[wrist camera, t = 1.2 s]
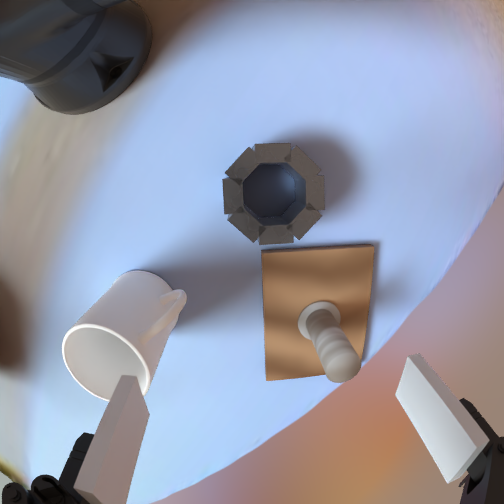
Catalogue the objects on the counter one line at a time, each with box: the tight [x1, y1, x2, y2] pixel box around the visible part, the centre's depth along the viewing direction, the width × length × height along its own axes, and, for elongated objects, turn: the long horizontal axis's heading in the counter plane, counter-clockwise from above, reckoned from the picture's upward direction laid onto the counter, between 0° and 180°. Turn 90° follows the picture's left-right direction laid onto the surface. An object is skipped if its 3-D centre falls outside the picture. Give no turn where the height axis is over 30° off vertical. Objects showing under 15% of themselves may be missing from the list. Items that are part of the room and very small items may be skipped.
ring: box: [222, 143, 325, 245], centre depth 26 cm, size 8×8×5 cm
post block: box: [261, 244, 374, 383], centre depth 27 cm, size 16×12×10 cm
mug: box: [62, 270, 187, 402], centre depth 25 cm, size 12×8×12 cm
